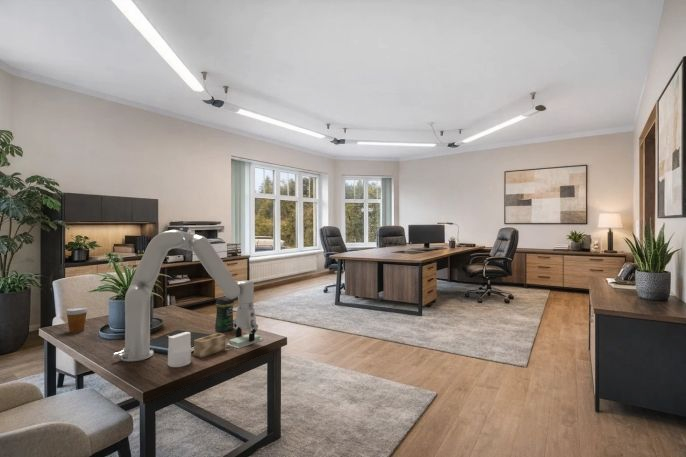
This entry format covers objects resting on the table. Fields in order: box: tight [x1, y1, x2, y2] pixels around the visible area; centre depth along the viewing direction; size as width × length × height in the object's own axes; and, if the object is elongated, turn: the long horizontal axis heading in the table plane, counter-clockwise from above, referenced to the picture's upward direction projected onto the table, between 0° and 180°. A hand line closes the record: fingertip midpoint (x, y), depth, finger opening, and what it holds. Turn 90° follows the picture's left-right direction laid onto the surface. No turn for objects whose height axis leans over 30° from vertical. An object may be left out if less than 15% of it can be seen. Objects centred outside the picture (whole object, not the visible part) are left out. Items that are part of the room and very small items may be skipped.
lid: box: [228, 333, 261, 347], centre depth 179 cm, size 14×7×2 cm, turn 146°
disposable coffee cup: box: [65, 306, 88, 333], centre depth 191 cm, size 10×10×12 cm
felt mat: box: [225, 337, 264, 350], centre depth 179 cm, size 16×9×1 cm, turn 146°
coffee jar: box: [214, 295, 235, 333], centre depth 199 cm, size 10×8×19 cm
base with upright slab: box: [167, 331, 192, 368], centre depth 152 cm, size 9×9×12 cm
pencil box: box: [193, 332, 226, 358], centre depth 165 cm, size 13×5×7 cm, turn 146°
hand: (245, 339), depth 179 cm, fingers open, 9 cm apart
